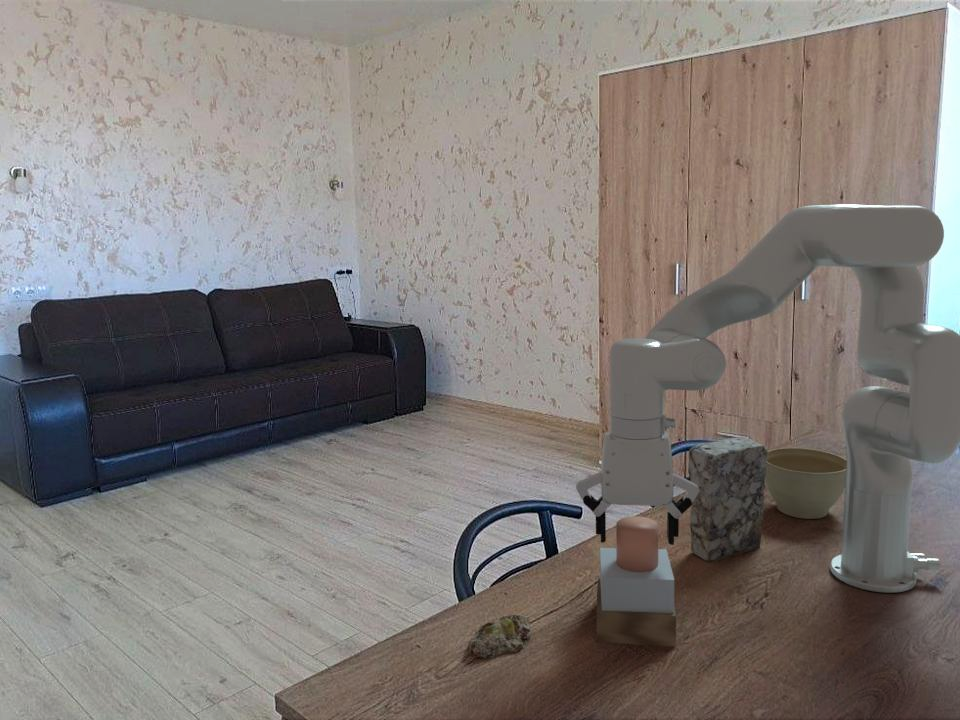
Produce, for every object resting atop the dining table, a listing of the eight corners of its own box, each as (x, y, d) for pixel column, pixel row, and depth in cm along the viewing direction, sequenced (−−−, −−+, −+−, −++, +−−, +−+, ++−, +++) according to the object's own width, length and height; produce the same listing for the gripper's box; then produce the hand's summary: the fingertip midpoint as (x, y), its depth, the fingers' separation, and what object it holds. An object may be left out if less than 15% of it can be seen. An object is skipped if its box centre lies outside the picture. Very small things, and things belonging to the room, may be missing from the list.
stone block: (714, 567, 130) (717, 455, 126) (684, 552, 136) (686, 445, 132) (767, 548, 136) (770, 441, 133) (736, 535, 142) (739, 432, 139)
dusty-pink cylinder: (656, 554, 113) (657, 517, 112) (659, 573, 108) (659, 533, 106) (616, 553, 114) (616, 515, 113) (616, 571, 109) (616, 532, 107)
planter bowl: (812, 533, 142) (815, 478, 140) (743, 507, 155) (744, 456, 153) (864, 514, 150) (868, 462, 148) (794, 491, 163) (796, 442, 161)
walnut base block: (670, 609, 117) (670, 579, 116) (675, 649, 106) (676, 616, 105) (598, 605, 119) (598, 576, 118) (596, 643, 108) (596, 611, 107)
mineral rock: (501, 604, 116) (538, 608, 110) (508, 631, 116) (546, 637, 110) (449, 634, 108) (486, 640, 102) (456, 663, 108) (493, 671, 102)
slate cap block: (666, 579, 116) (666, 549, 115) (673, 613, 106) (674, 579, 105) (600, 577, 117) (600, 547, 116) (601, 610, 108) (601, 577, 107)
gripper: (696, 419, 109) (694, 531, 112) (576, 418, 112) (577, 527, 115) (703, 434, 102) (701, 553, 105) (574, 433, 105) (575, 548, 108)
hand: (636, 539), depth 110 cm, fingers open, 9 cm apart
